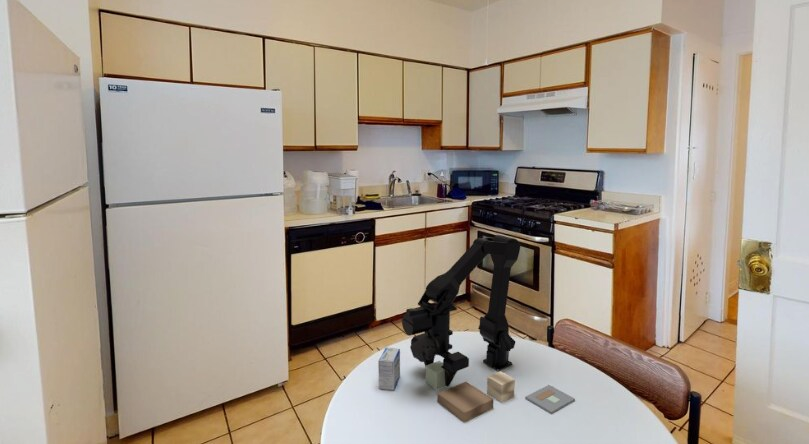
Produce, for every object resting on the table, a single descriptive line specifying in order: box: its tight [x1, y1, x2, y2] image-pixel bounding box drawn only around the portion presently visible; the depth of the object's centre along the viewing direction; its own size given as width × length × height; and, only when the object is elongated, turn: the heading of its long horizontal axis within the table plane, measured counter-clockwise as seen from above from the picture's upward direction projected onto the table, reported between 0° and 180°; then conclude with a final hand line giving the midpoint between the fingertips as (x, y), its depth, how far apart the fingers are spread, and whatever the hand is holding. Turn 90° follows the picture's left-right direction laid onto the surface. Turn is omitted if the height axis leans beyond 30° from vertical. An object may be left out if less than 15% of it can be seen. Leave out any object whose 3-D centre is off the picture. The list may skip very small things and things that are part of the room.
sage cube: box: [425, 360, 452, 391], centre depth 118 cm, size 5×5×5 cm
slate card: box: [524, 384, 576, 415], centre depth 110 cm, size 10×8×1 cm
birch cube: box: [486, 370, 516, 403], centre depth 112 cm, size 5×5×5 cm
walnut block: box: [436, 381, 494, 423], centre depth 108 cm, size 10×10×3 cm
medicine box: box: [377, 347, 401, 391], centre depth 118 cm, size 8×4×9 cm, turn 169°
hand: (438, 379), depth 118 cm, fingers open, 8 cm apart
